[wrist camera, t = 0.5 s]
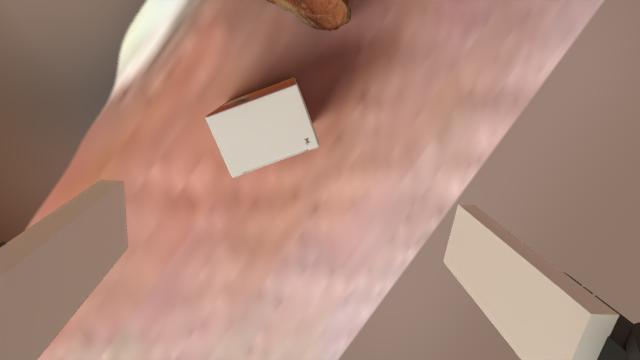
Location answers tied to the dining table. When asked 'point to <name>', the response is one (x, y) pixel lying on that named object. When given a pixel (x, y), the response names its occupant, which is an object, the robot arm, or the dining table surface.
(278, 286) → the dining table surface
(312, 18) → the fossil
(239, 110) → the small box
